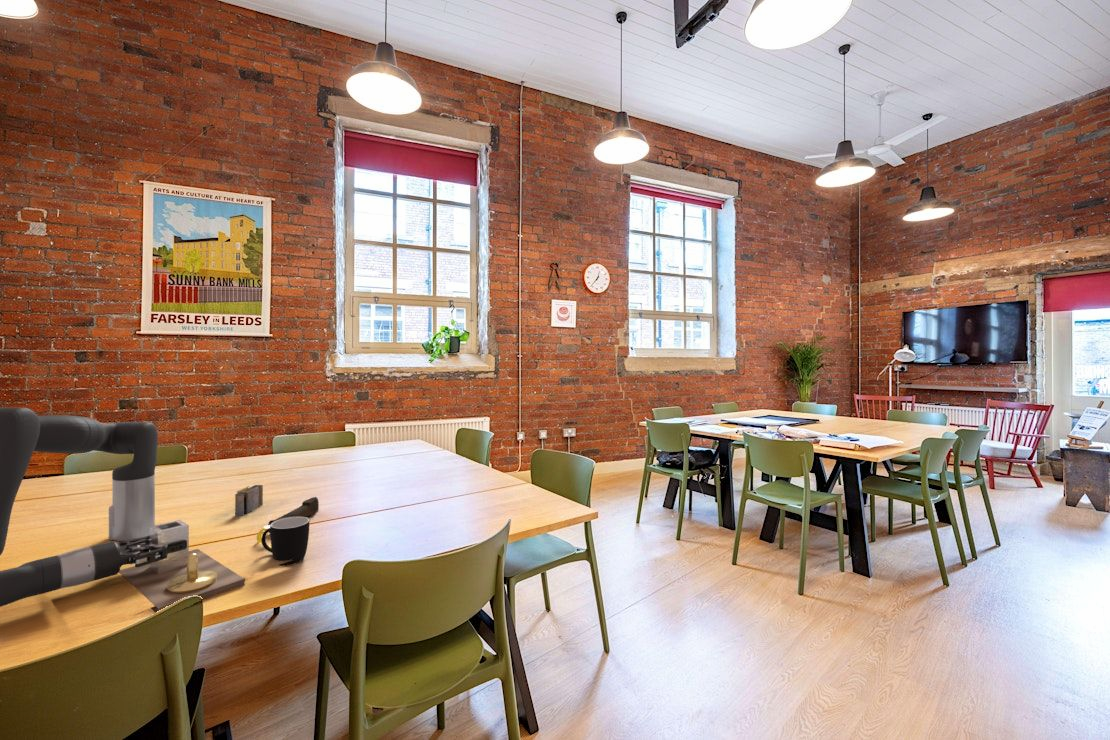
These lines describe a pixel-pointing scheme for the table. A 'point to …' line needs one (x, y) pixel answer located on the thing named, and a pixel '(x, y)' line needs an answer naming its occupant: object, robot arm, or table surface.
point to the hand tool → (302, 510)
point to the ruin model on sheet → (248, 499)
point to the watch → (261, 532)
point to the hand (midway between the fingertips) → (181, 540)
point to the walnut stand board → (156, 583)
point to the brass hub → (191, 578)
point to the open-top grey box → (165, 536)
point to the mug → (288, 539)
